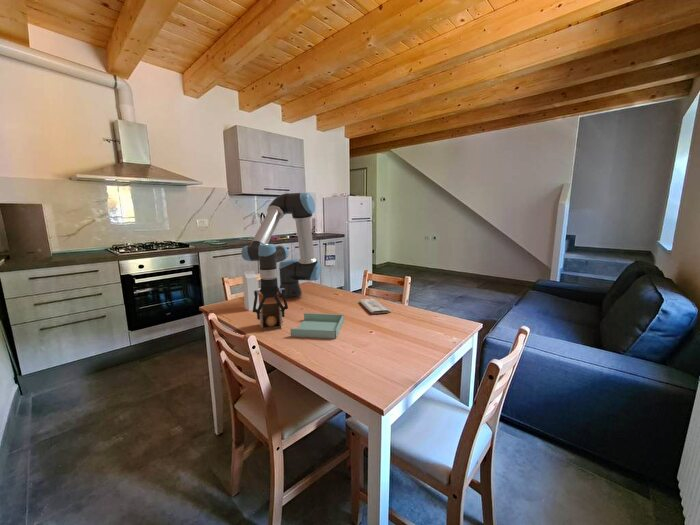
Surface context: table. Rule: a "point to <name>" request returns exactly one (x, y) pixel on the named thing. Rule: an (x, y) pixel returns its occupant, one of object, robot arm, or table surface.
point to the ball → (271, 321)
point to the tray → (319, 326)
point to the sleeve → (270, 314)
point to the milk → (250, 289)
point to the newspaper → (374, 306)
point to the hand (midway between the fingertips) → (271, 324)
